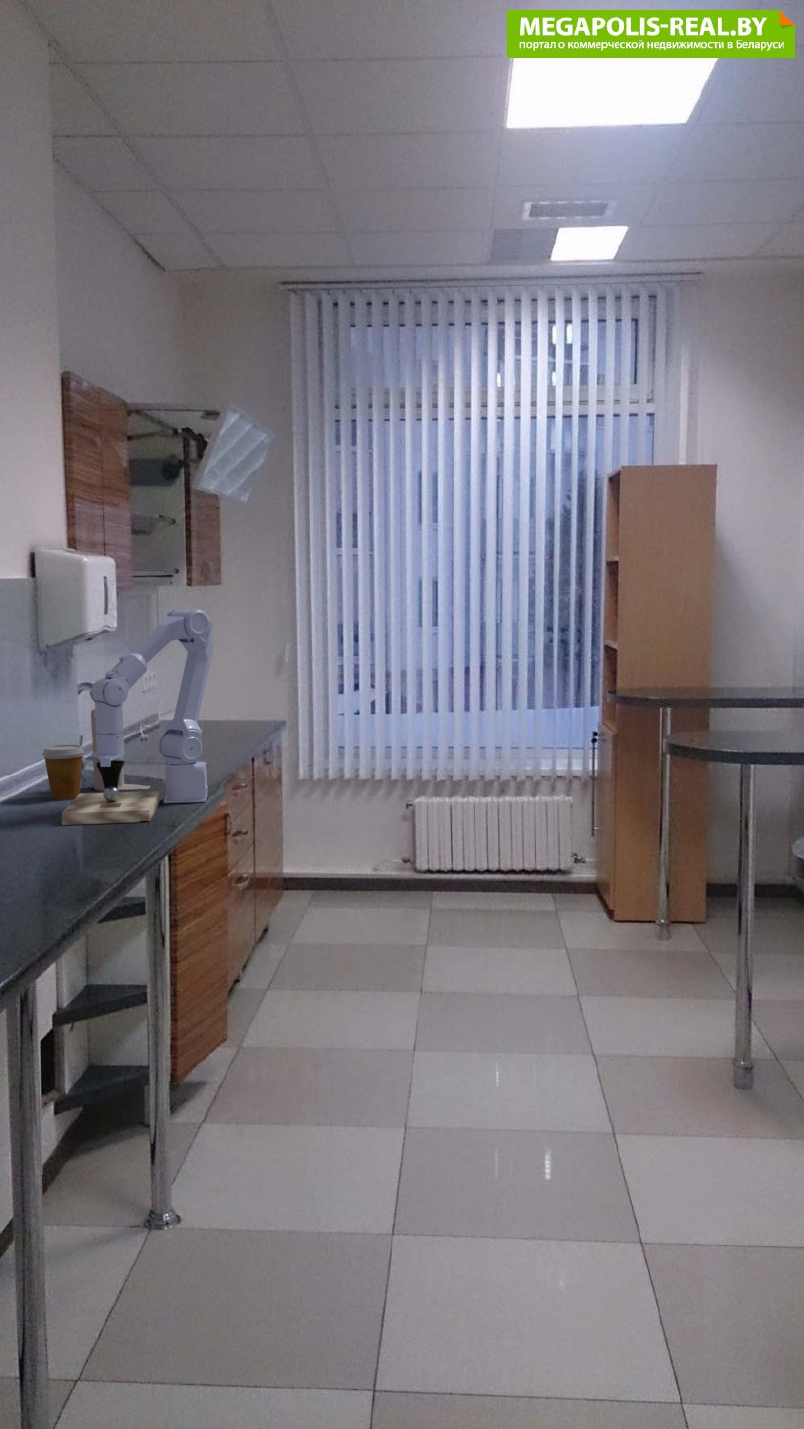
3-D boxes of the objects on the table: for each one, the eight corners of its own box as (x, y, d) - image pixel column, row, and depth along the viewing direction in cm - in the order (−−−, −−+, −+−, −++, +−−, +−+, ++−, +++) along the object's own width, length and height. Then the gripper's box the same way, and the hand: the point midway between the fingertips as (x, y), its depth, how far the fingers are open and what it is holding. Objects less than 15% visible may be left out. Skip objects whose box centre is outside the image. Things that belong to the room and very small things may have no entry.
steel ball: (120, 784, 251) (116, 786, 248) (122, 800, 251) (118, 802, 248) (104, 786, 251) (100, 787, 248) (106, 801, 251) (102, 803, 248)
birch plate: (160, 801, 262) (159, 791, 262) (149, 821, 240) (149, 809, 240) (80, 804, 260) (79, 793, 260) (62, 824, 238) (61, 813, 238)
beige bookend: (147, 790, 277) (143, 708, 274) (90, 791, 277) (86, 709, 275) (154, 785, 284) (151, 705, 282) (99, 785, 284) (95, 706, 282)
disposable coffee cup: (92, 793, 274) (90, 744, 272) (77, 801, 264) (74, 750, 263) (54, 793, 275) (51, 744, 273) (37, 801, 265) (35, 750, 264)
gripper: (96, 729, 256) (98, 788, 258) (85, 737, 242) (87, 800, 243) (128, 728, 257) (129, 788, 258) (119, 737, 242) (120, 800, 244)
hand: (111, 794), depth 251 cm, fingers closed, pressing on steel ball
